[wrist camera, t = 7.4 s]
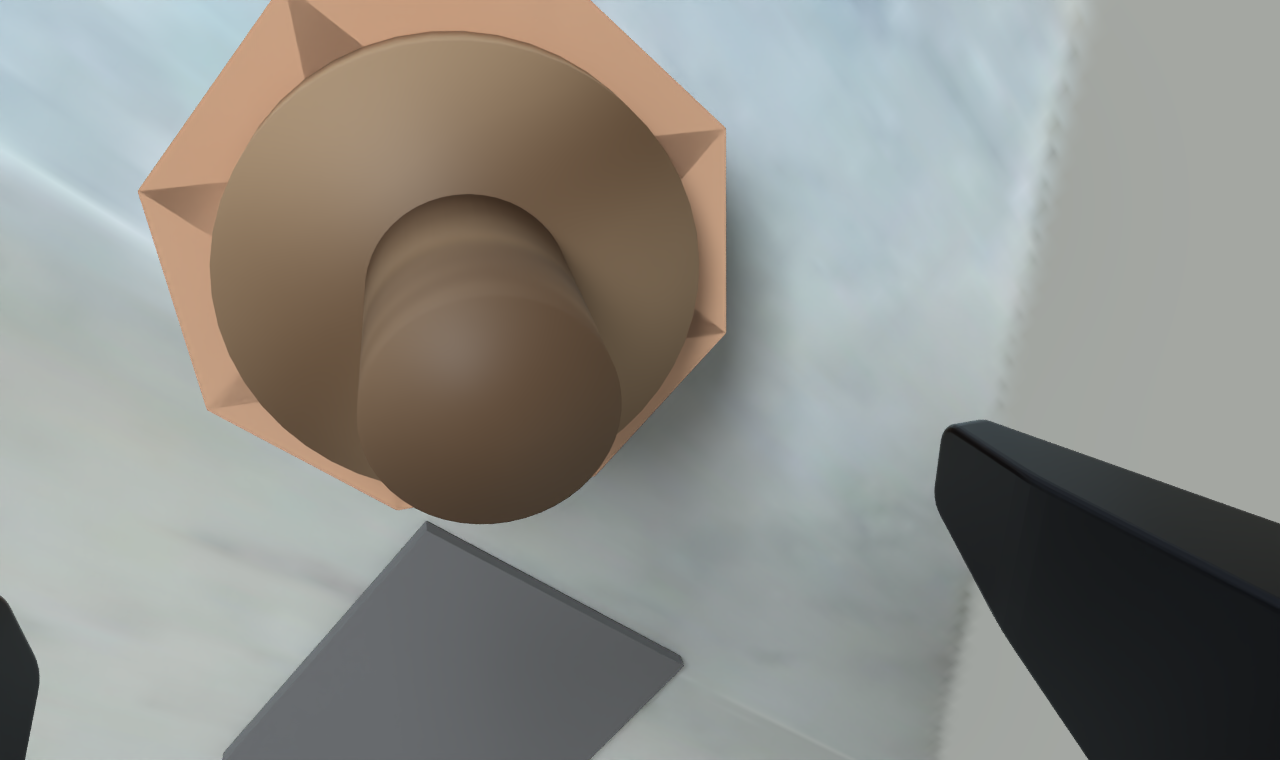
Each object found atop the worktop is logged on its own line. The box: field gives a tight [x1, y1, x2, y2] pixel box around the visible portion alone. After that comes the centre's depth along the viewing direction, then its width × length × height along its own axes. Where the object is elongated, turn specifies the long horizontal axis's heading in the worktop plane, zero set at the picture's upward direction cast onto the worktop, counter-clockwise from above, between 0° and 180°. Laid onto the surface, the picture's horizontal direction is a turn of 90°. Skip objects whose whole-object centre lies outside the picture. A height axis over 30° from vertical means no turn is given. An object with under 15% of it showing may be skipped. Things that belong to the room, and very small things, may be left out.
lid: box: [210, 31, 699, 524], centre depth 13 cm, size 8×8×5 cm
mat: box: [222, 521, 684, 760], centre depth 26 cm, size 9×9×1 cm
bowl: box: [138, 0, 726, 510], centre depth 17 cm, size 9×9×4 cm
